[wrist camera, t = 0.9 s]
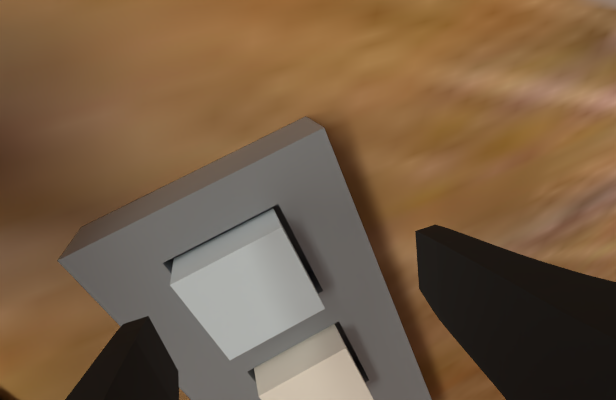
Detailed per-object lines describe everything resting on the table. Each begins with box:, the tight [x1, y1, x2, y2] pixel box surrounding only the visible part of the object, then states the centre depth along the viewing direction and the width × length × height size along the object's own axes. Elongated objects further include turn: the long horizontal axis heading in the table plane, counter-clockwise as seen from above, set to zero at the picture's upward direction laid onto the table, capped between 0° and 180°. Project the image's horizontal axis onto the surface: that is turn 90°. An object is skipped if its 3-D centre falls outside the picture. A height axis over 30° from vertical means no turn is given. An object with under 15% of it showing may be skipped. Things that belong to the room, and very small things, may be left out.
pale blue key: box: [170, 208, 325, 360], centre depth 16 cm, size 5×5×2 cm
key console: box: [57, 117, 432, 400], centre depth 21 cm, size 12×26×3 cm, turn 23°
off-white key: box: [254, 324, 374, 400], centre depth 20 cm, size 5×5×2 cm
